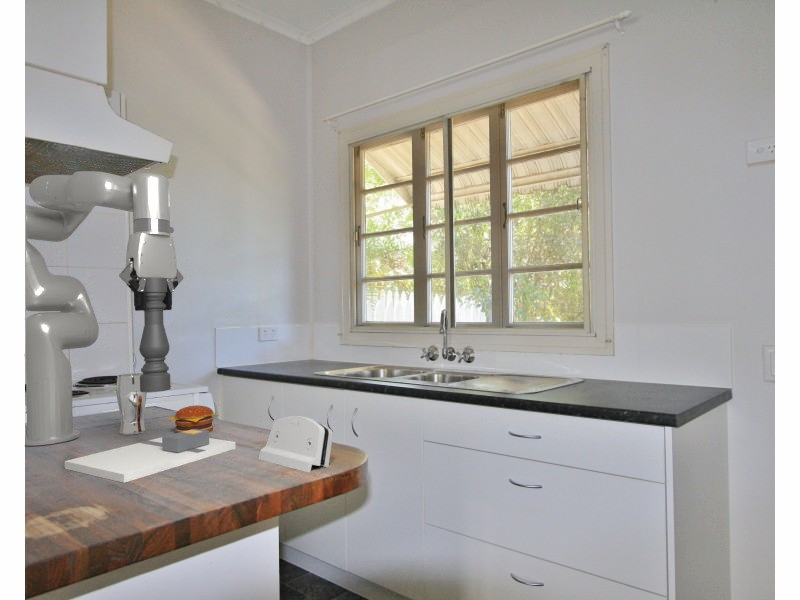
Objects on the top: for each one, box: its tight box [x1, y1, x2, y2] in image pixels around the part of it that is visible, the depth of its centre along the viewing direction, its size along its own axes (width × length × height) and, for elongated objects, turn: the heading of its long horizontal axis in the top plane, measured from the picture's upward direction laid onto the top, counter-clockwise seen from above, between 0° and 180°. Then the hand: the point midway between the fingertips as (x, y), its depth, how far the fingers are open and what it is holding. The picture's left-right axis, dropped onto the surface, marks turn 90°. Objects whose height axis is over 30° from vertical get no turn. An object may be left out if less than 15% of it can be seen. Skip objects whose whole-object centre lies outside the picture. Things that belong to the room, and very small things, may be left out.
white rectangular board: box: [64, 436, 236, 484], centre depth 114 cm, size 20×26×2 cm
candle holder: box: [138, 277, 172, 393], centre depth 120 cm, size 6×6×25 cm
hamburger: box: [168, 404, 220, 433], centre depth 139 cm, size 9×10×7 cm
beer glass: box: [116, 372, 148, 436], centre depth 139 cm, size 7×7×15 cm
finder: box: [162, 429, 210, 453], centre depth 116 cm, size 5×8×3 cm, turn 149°
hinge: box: [258, 415, 334, 473], centre depth 109 cm, size 17×5×10 cm, turn 49°
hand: (153, 309), depth 121 cm, fingers closed on candle holder, 5 cm apart
